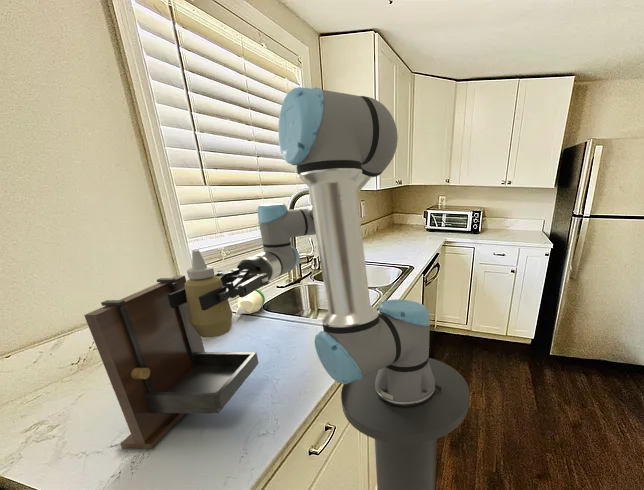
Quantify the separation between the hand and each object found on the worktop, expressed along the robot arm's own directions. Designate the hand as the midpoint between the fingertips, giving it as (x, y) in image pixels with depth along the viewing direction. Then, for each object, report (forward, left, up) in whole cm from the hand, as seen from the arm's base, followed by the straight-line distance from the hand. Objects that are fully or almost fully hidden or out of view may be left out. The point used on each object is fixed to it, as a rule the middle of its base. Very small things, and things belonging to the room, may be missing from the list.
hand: (186, 302), depth 63 cm
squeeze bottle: (-1, -5, -9) cm, 10 cm away
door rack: (+2, 0, -26) cm, 26 cm away
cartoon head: (+18, -57, -26) cm, 65 cm away
